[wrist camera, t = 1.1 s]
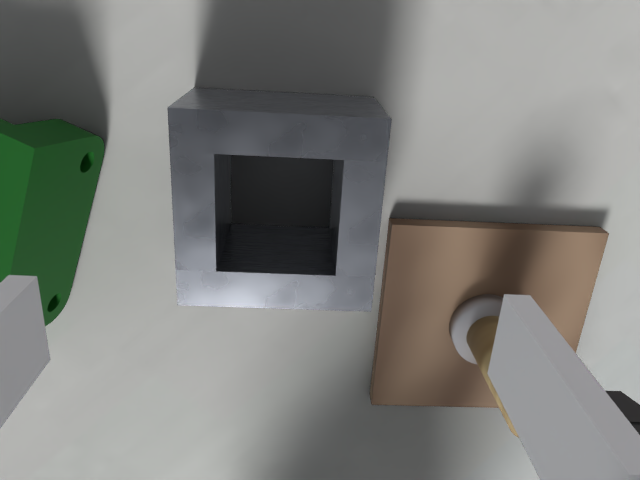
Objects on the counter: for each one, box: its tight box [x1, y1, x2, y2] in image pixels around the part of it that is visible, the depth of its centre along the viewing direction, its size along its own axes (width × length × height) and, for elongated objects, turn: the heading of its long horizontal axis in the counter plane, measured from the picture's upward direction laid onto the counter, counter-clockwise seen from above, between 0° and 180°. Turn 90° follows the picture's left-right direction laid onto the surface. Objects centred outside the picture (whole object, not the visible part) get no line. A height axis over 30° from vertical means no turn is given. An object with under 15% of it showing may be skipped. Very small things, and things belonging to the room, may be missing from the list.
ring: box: [168, 87, 391, 311], centre depth 27 cm, size 9×9×6 cm
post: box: [370, 218, 609, 438], centre depth 29 cm, size 12×12×9 cm
